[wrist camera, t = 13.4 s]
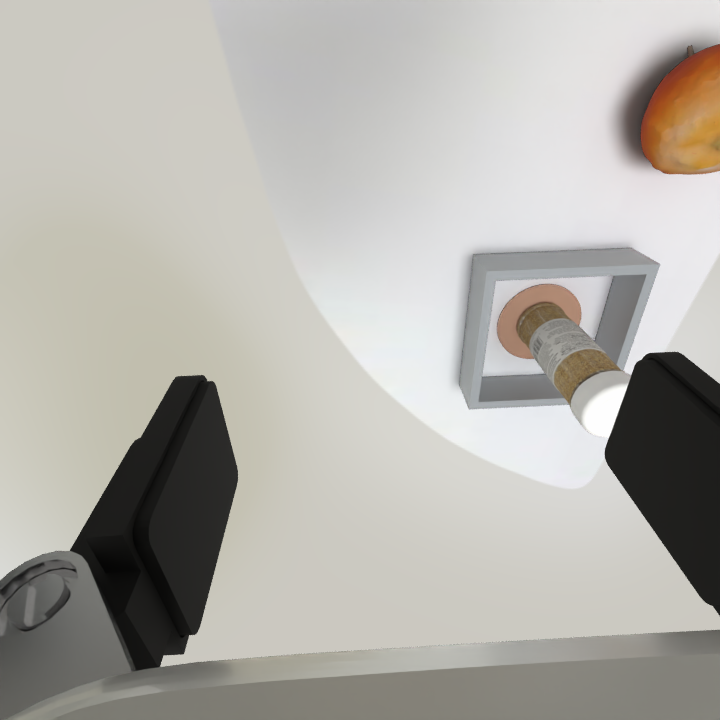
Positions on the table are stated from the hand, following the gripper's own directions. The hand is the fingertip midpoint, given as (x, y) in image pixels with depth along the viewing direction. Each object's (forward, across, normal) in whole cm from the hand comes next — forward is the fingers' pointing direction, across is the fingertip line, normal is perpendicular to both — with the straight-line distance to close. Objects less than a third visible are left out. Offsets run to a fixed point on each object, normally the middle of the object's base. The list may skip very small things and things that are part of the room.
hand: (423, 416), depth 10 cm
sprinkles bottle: (+28, -16, +13) cm, 35 cm away
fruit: (+29, -23, -4) cm, 37 cm away
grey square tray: (+28, -16, +13) cm, 35 cm away
